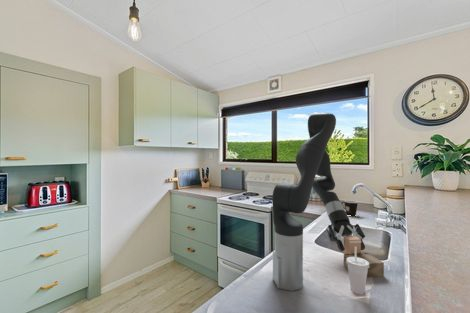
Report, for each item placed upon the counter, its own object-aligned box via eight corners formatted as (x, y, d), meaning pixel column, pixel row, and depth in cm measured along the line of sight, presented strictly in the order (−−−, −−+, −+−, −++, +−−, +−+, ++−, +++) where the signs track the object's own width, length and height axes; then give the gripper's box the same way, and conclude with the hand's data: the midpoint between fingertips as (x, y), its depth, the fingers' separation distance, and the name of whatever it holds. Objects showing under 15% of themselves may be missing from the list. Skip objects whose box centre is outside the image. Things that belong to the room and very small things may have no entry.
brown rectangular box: (357, 278, 77) (357, 263, 77) (343, 267, 85) (343, 253, 85) (383, 276, 79) (383, 262, 79) (367, 265, 87) (367, 252, 87)
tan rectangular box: (350, 265, 86) (350, 240, 86) (343, 260, 90) (343, 236, 90) (361, 265, 86) (361, 239, 86) (354, 260, 91) (354, 235, 91)
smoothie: (348, 283, 74) (348, 241, 74) (370, 290, 70) (371, 246, 70) (343, 292, 70) (344, 247, 70) (367, 300, 65) (367, 253, 65)
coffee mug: (360, 217, 157) (360, 203, 157) (347, 217, 157) (347, 202, 157) (351, 212, 169) (351, 199, 169) (340, 212, 169) (340, 199, 169)
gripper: (324, 209, 96) (340, 246, 84) (355, 208, 97) (374, 245, 86) (318, 218, 101) (332, 254, 89) (347, 217, 102) (365, 253, 91)
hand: (353, 250), depth 88 cm, fingers open, 8 cm apart
